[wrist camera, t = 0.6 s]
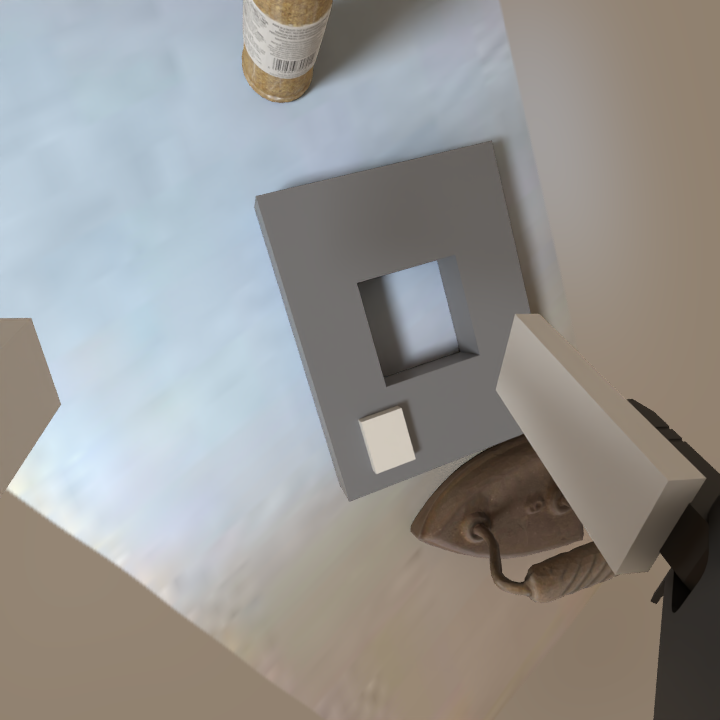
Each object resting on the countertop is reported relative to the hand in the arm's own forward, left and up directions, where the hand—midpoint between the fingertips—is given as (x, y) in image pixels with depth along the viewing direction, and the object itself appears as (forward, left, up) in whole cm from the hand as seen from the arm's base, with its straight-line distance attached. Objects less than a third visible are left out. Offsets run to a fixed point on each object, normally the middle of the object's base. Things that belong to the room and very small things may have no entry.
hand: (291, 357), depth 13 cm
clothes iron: (+18, +13, -19) cm, 29 cm away
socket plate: (+2, +10, -19) cm, 21 cm away
